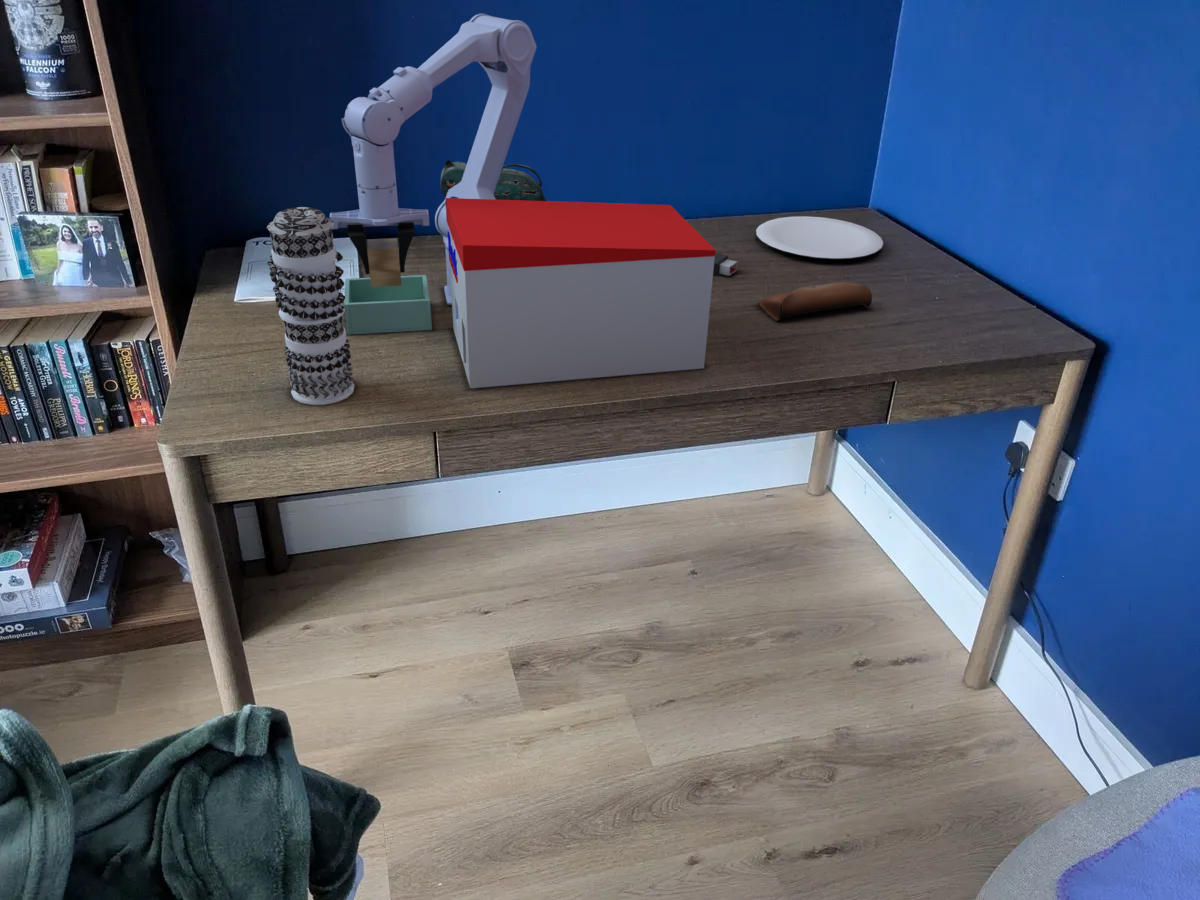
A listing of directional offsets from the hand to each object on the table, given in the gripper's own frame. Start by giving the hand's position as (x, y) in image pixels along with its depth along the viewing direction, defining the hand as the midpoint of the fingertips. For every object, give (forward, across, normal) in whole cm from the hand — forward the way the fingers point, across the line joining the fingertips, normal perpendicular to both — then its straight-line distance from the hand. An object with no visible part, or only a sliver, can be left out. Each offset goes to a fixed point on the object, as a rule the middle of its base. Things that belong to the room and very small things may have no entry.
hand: (384, 271), depth 148 cm
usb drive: (+8, +58, +16) cm, 60 cm away
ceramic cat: (+8, +21, +29) cm, 37 cm away
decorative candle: (+8, -10, -23) cm, 26 cm away
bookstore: (+8, +27, -15) cm, 32 cm away
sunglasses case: (+8, +70, -5) cm, 71 cm away
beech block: (+2, 0, 0) cm, 2 cm away
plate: (+8, +85, +26) cm, 89 cm away
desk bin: (+8, 0, +1) cm, 8 cm away
